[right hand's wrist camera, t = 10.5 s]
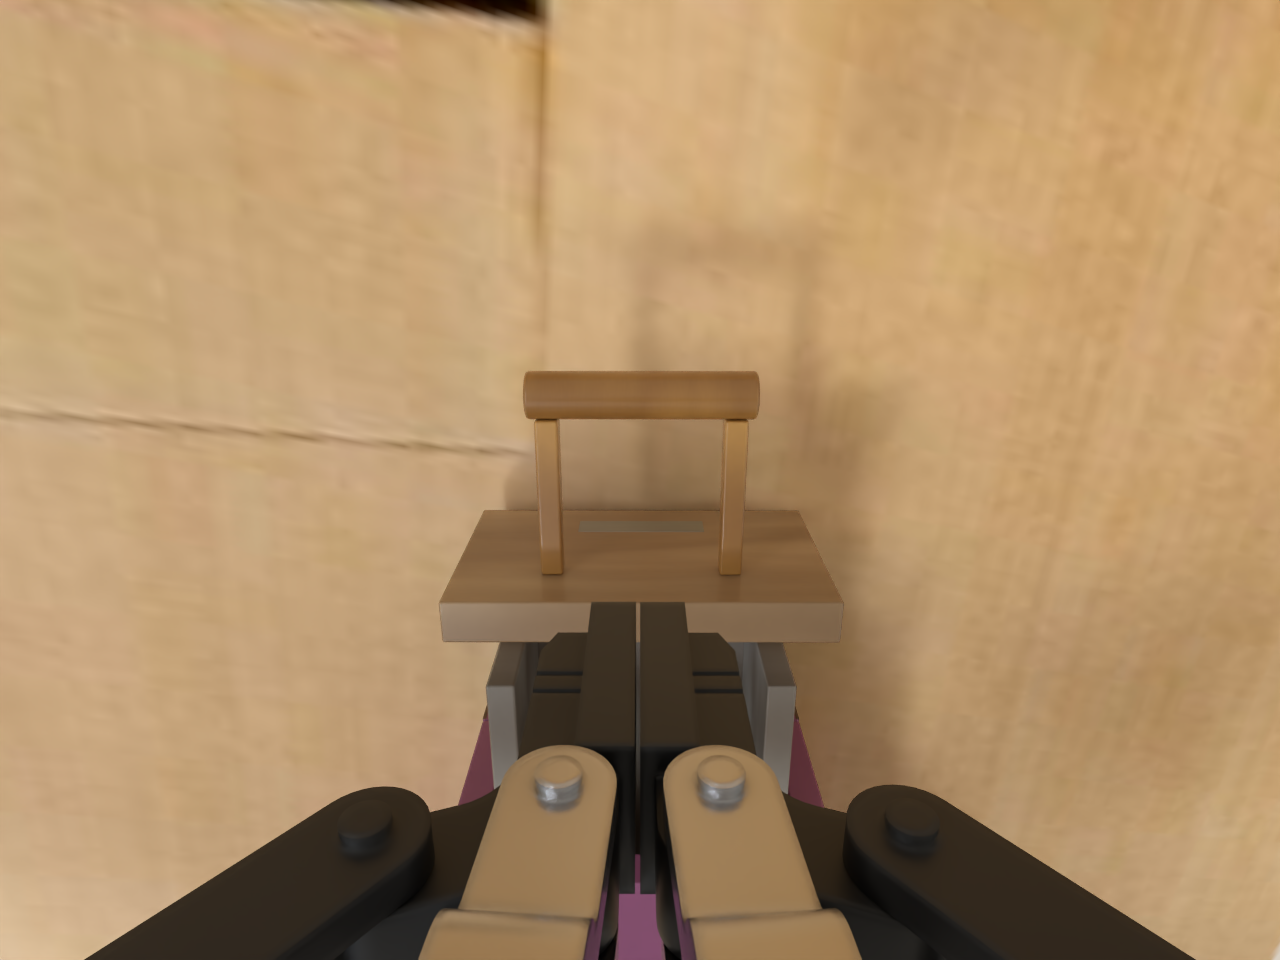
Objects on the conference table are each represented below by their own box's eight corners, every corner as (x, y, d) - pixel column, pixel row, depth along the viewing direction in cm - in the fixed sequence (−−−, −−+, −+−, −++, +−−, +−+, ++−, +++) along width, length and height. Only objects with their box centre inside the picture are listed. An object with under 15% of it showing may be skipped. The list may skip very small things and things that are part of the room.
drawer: (471, 340, 24) (416, 388, 18) (811, 340, 24) (866, 388, 18) (516, 947, 33) (488, 1112, 27) (765, 947, 33) (792, 1112, 27)
